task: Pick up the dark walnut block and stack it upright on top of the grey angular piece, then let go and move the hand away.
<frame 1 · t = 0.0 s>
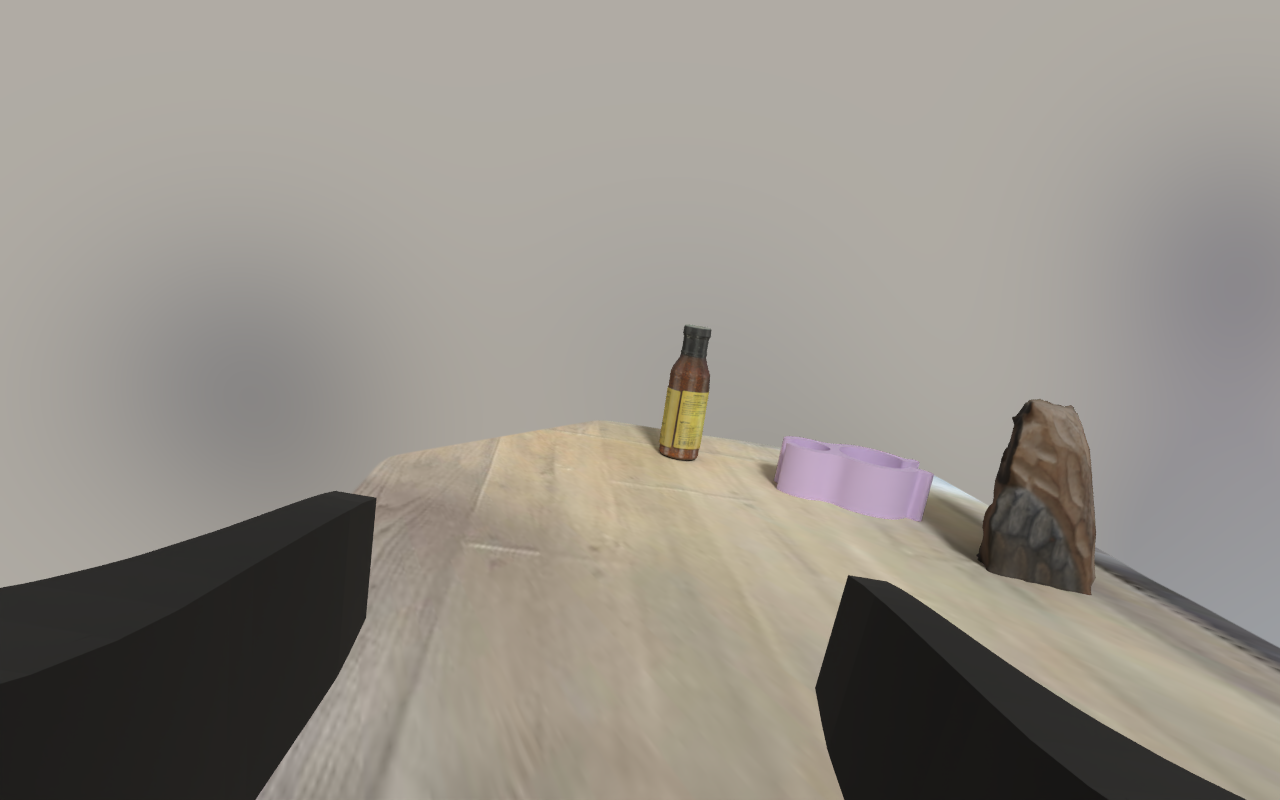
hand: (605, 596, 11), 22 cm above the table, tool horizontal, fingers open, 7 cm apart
owl: (1027, 572, 84), on the table
sauce bottle: (675, 456, 107), on the table
clip: (843, 501, 101), on the table
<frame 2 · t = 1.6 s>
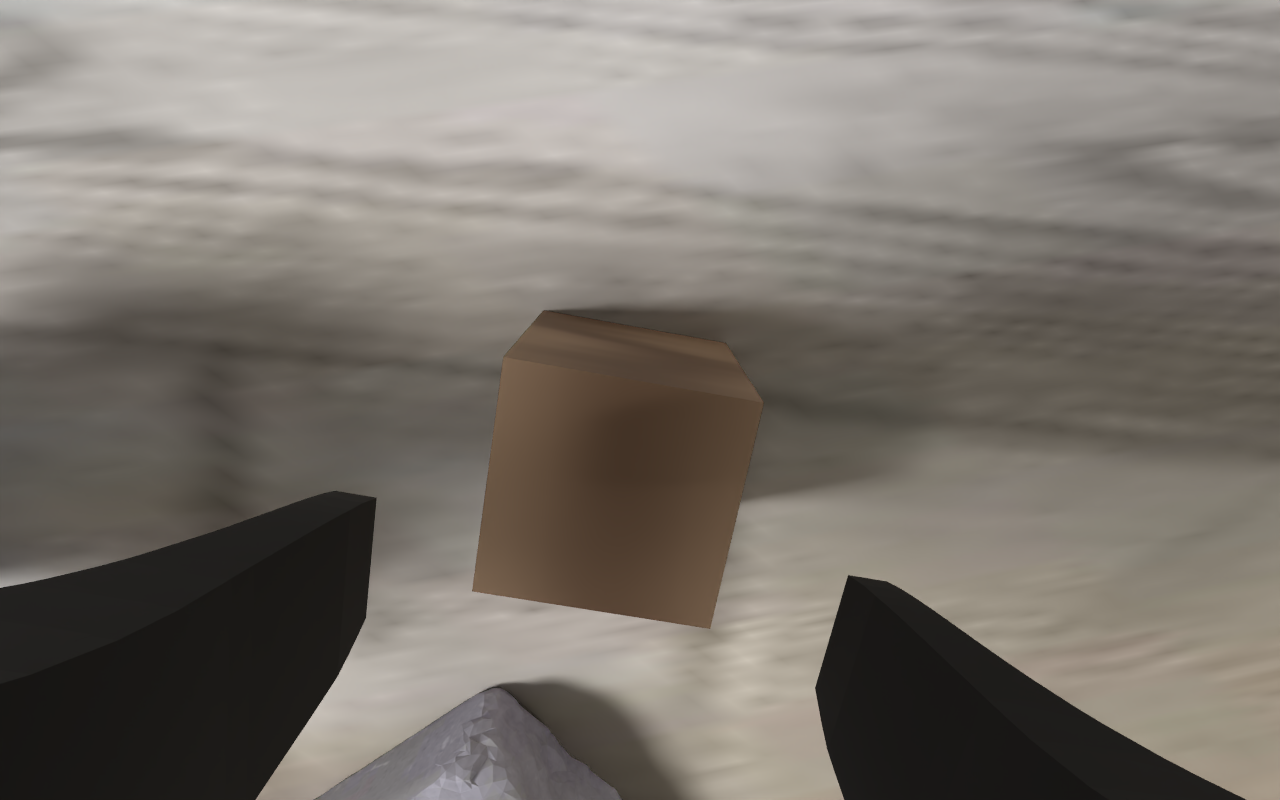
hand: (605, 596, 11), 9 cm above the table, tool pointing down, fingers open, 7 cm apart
walnut block: (619, 413, 20), on the table
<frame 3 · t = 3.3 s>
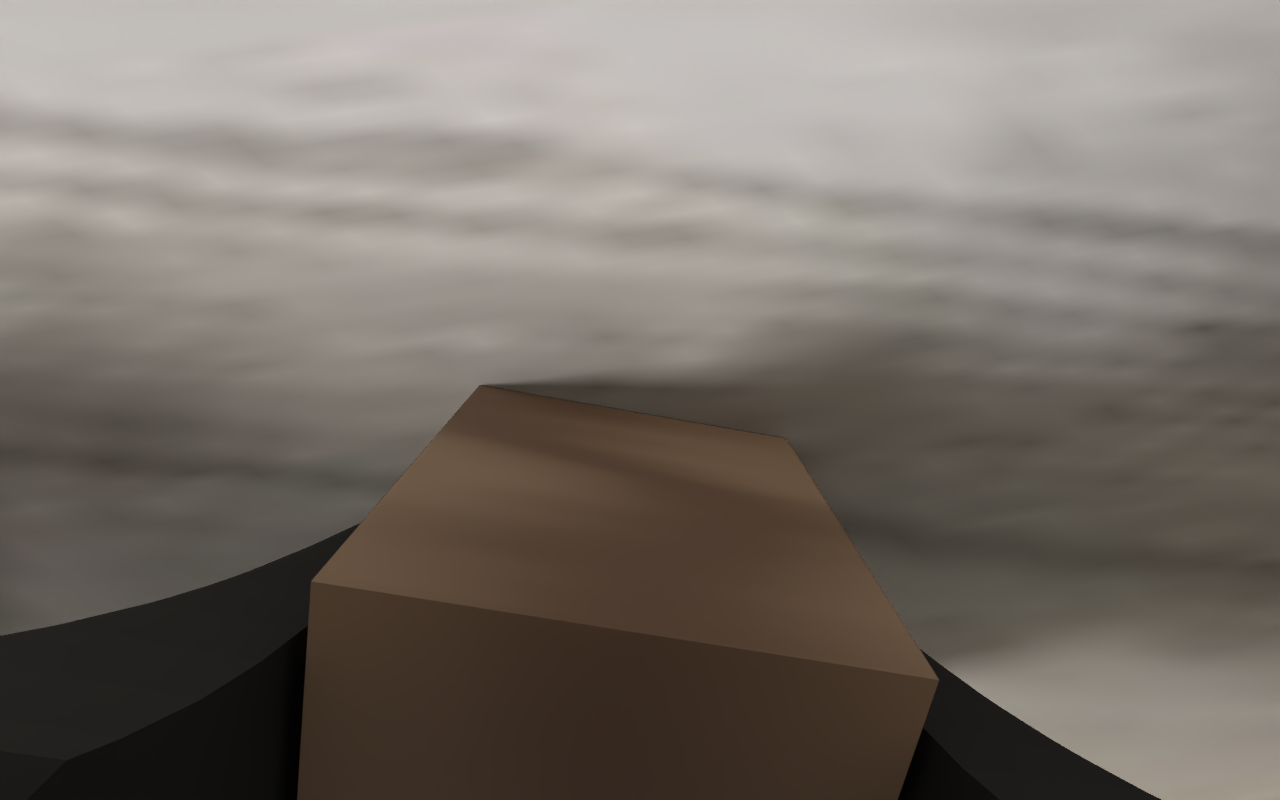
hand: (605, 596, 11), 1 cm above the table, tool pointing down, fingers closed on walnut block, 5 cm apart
walnut block: (608, 551, 12), on the table, touching gripper
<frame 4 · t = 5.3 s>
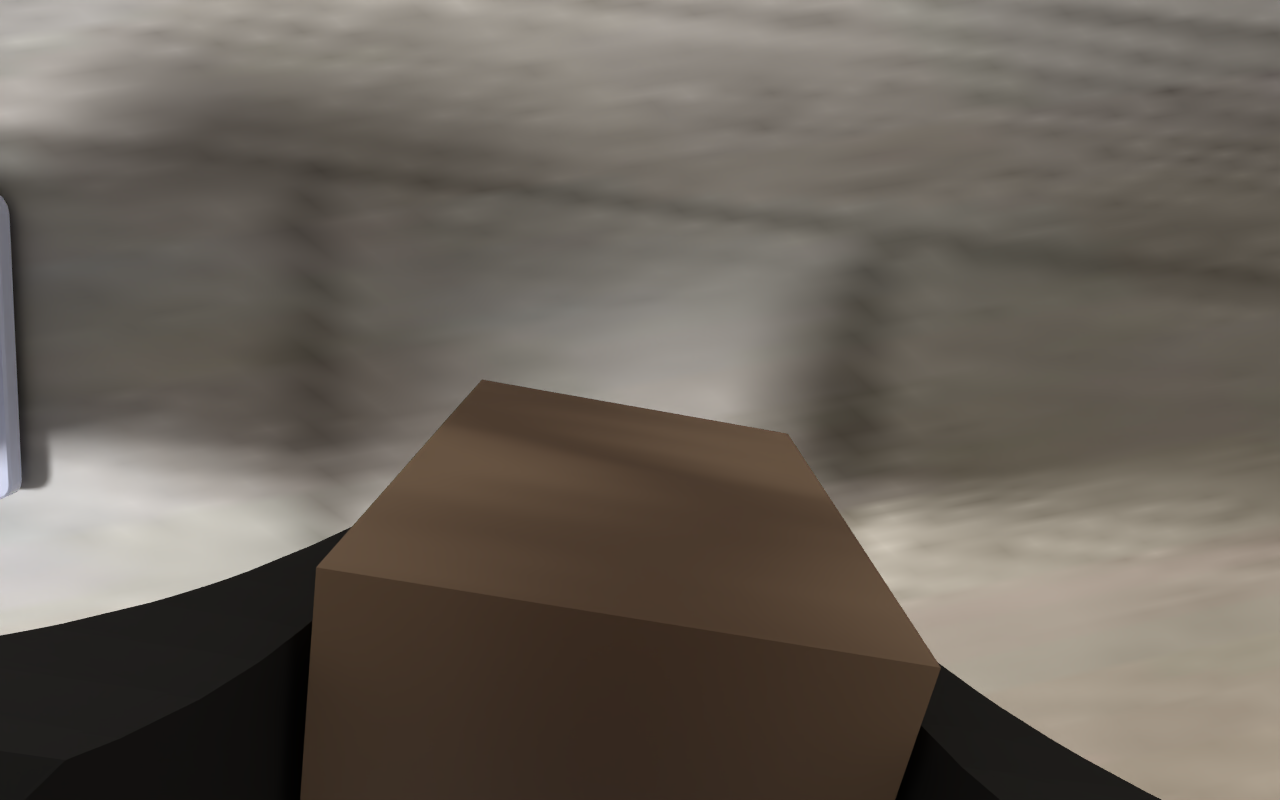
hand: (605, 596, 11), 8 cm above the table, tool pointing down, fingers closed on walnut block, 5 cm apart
walnut block: (610, 545, 12), point 7 cm above the table, touching gripper
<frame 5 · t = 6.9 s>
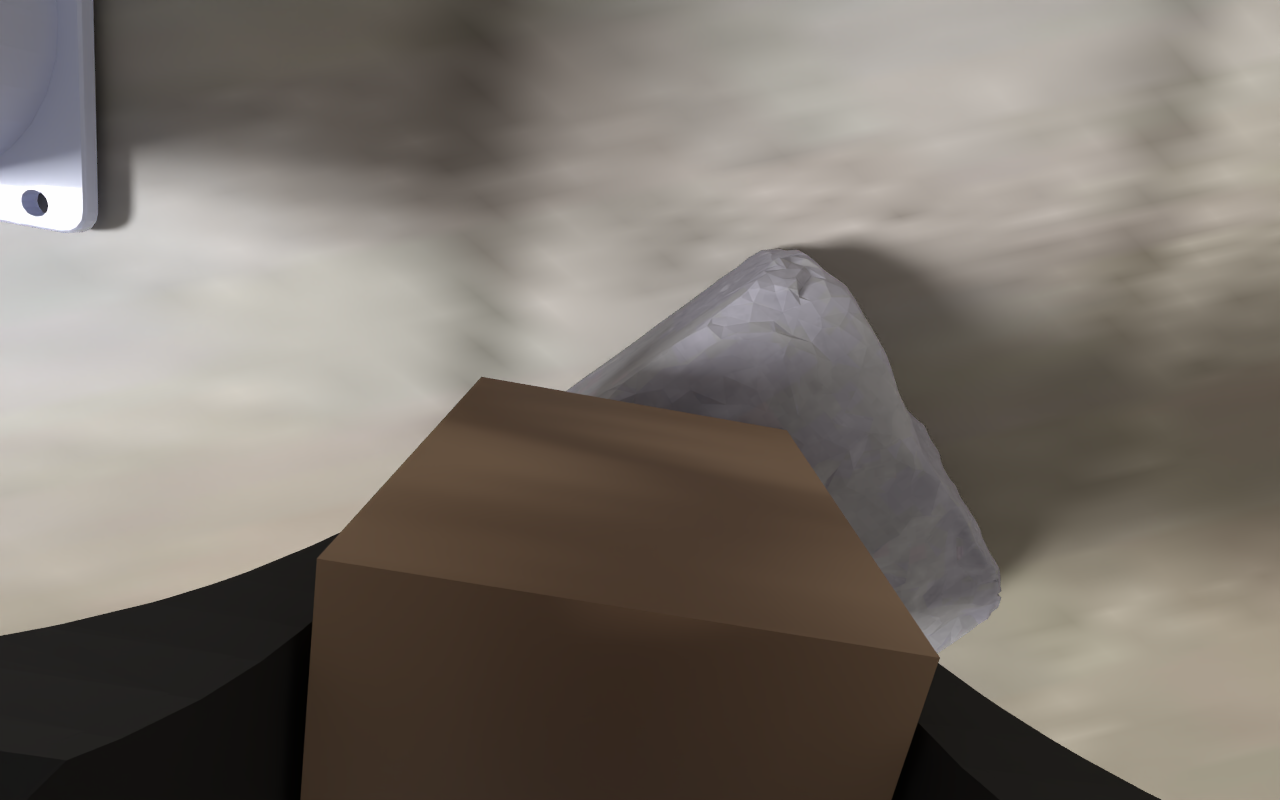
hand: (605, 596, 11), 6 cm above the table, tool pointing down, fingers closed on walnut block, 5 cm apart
walnut block: (609, 542, 12), point 4 cm above the table, touching gripper
grey angular piece: (692, 530, 17), on the table
when the fingers open (6 cm above the table, at t = 7.7 s): walnut block stays where it is, resting on grey angular piece.
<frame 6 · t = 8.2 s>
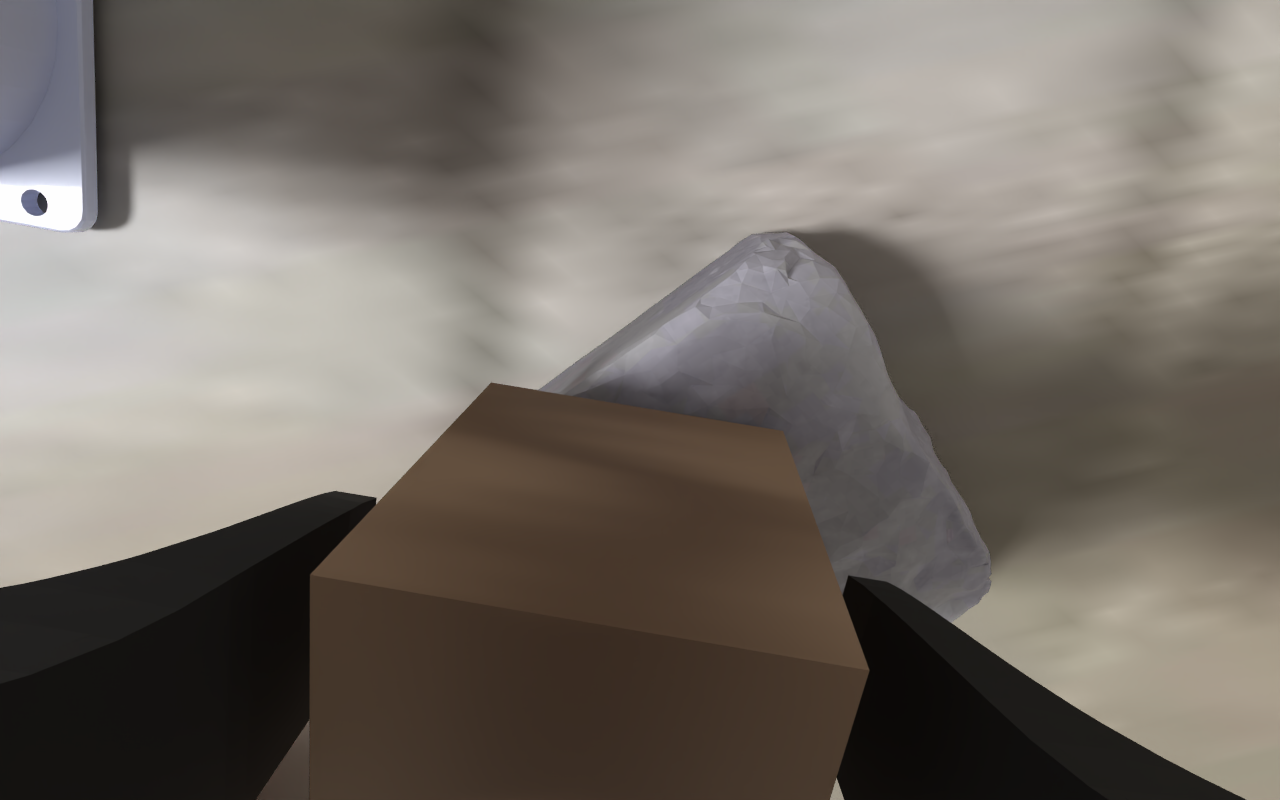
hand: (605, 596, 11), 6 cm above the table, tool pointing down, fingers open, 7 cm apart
walnut block: (616, 536, 13), point 4 cm above the table, touching grey angular piece
grey angular piece: (684, 517, 17), on the table, touching walnut block
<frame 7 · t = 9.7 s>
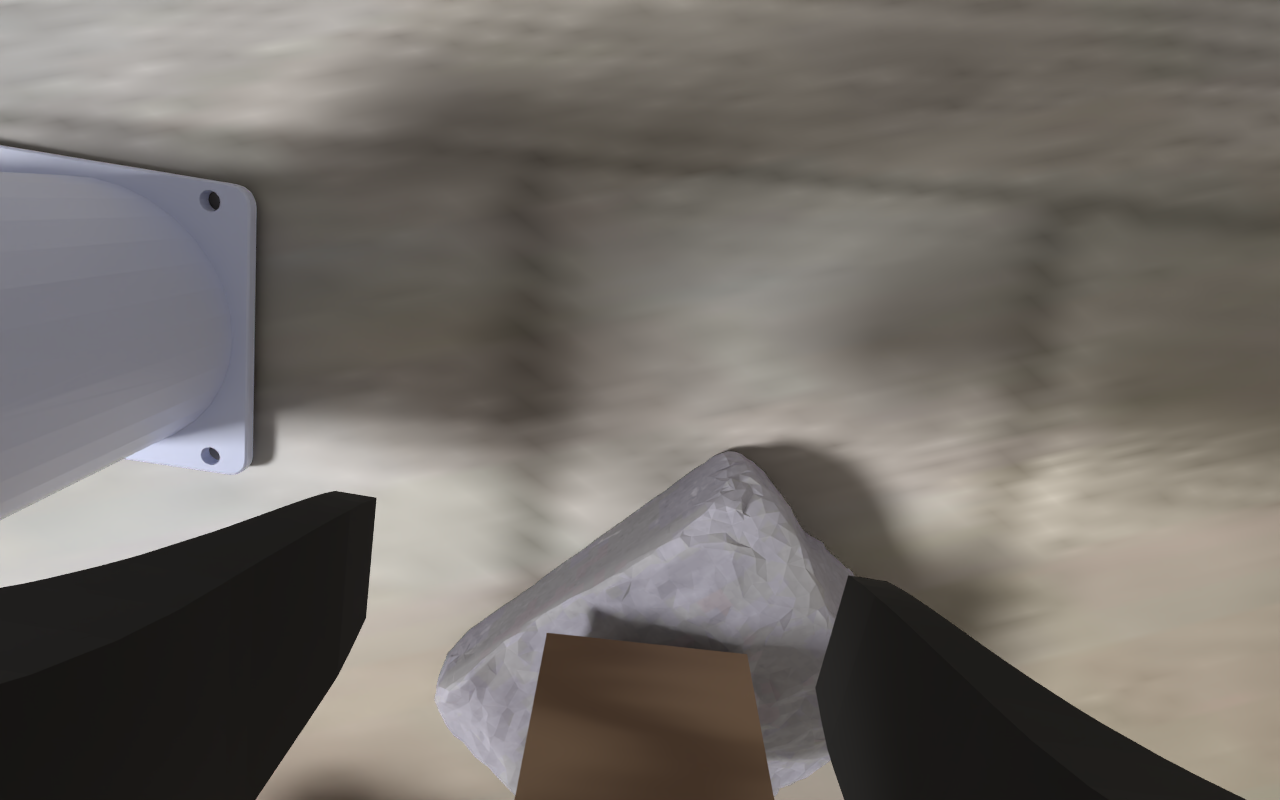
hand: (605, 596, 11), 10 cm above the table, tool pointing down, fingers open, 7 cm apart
walnut block: (635, 719, 18), point 4 cm above the table, tilted 6°, touching grey angular piece
grey angular piece: (678, 642, 23), on the table, touching walnut block
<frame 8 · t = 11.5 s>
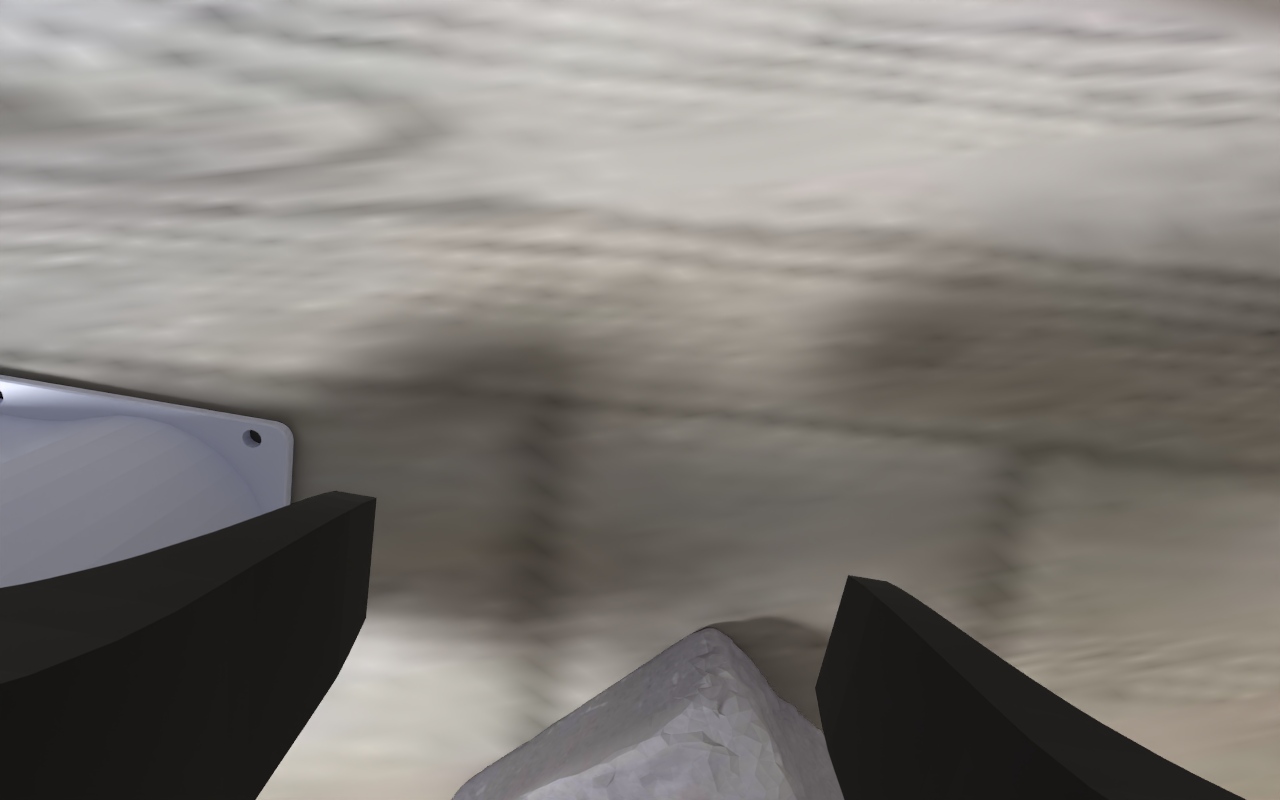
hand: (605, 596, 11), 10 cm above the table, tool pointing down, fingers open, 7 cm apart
grey angular piece: (661, 789, 24), on the table, touching walnut block
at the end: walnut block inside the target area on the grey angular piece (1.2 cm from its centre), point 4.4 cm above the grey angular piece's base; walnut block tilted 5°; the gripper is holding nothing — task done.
